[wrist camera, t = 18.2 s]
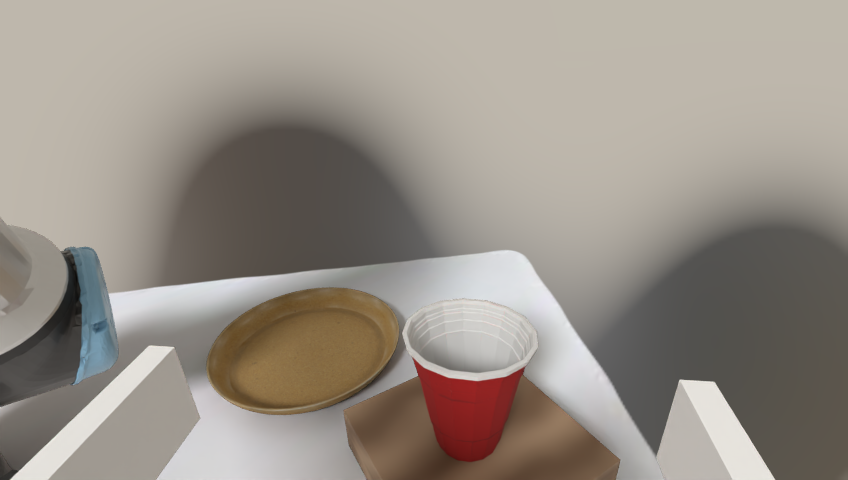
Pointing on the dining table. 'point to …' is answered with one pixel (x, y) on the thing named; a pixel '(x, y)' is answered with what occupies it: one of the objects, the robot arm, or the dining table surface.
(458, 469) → the walnut podium
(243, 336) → the plant saucer
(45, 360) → the robot arm
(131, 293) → the dining table surface
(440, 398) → the plastic cup
